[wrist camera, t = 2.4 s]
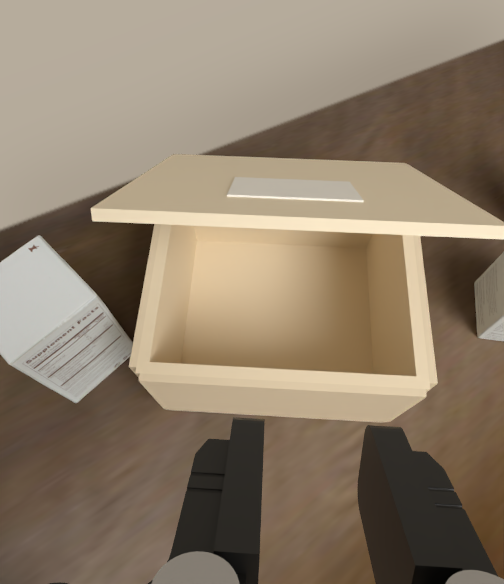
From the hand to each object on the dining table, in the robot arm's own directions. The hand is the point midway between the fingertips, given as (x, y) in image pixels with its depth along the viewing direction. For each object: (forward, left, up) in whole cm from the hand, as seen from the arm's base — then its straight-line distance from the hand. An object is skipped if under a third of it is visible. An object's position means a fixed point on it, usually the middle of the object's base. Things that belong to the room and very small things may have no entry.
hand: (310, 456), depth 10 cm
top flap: (0, +17, -12) cm, 21 cm away
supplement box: (-18, +11, -30) cm, 37 cm away
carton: (0, +15, -30) cm, 34 cm away
